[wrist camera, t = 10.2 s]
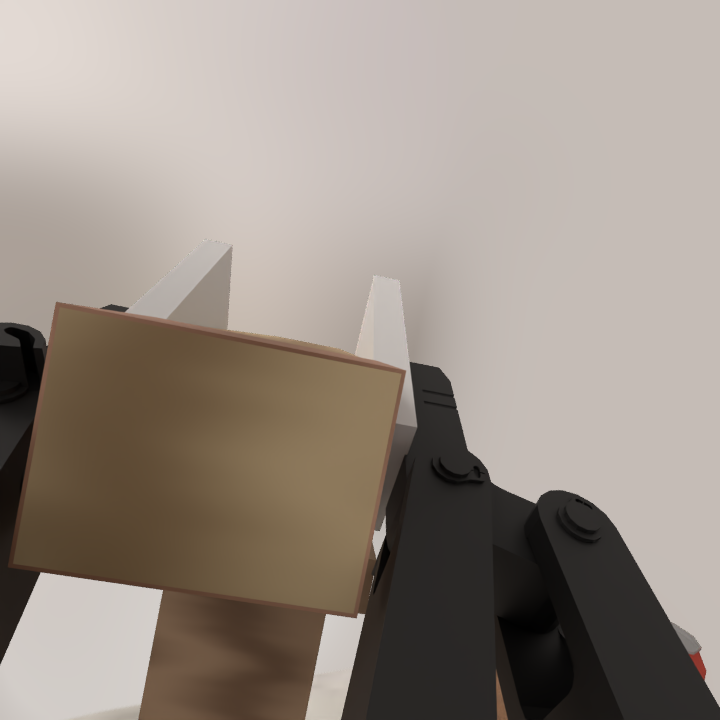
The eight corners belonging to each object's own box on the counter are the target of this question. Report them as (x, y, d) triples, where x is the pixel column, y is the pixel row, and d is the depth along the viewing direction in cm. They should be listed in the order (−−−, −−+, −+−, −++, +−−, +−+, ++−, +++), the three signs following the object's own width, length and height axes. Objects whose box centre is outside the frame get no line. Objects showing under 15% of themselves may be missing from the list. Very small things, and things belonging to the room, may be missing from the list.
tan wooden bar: (7, 567, 5) (56, 301, 5) (268, 382, 29) (277, 335, 29) (356, 618, 5) (407, 370, 5) (330, 394, 29) (339, 348, 29)
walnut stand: (2, 1142, 16) (119, 519, 15) (134, 814, 27) (205, 446, 26) (257, 1154, 16) (376, 560, 16) (284, 830, 27) (355, 472, 27)
